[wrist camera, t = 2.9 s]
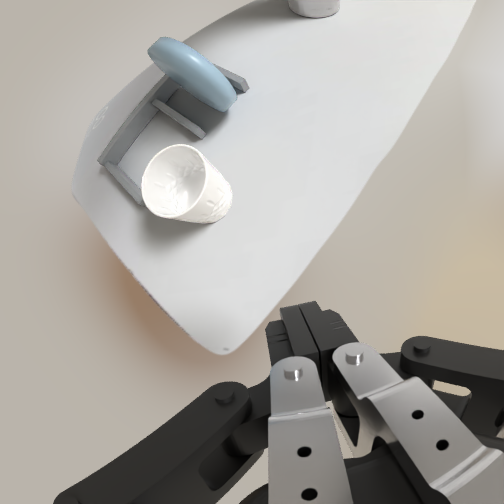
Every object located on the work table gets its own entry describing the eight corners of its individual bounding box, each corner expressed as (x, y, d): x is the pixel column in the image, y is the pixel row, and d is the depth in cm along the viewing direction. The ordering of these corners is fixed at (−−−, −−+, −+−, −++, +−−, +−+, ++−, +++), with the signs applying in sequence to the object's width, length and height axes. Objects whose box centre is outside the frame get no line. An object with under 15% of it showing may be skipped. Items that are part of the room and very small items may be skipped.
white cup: (172, 200, 38) (129, 184, 28) (211, 159, 36) (177, 130, 27) (206, 240, 36) (167, 234, 27) (249, 197, 35) (223, 175, 25)
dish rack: (265, 97, 35) (238, 31, 21) (161, 220, 38) (91, 204, 24) (197, 62, 38) (158, 10, 24) (110, 166, 41) (49, 141, 27)
